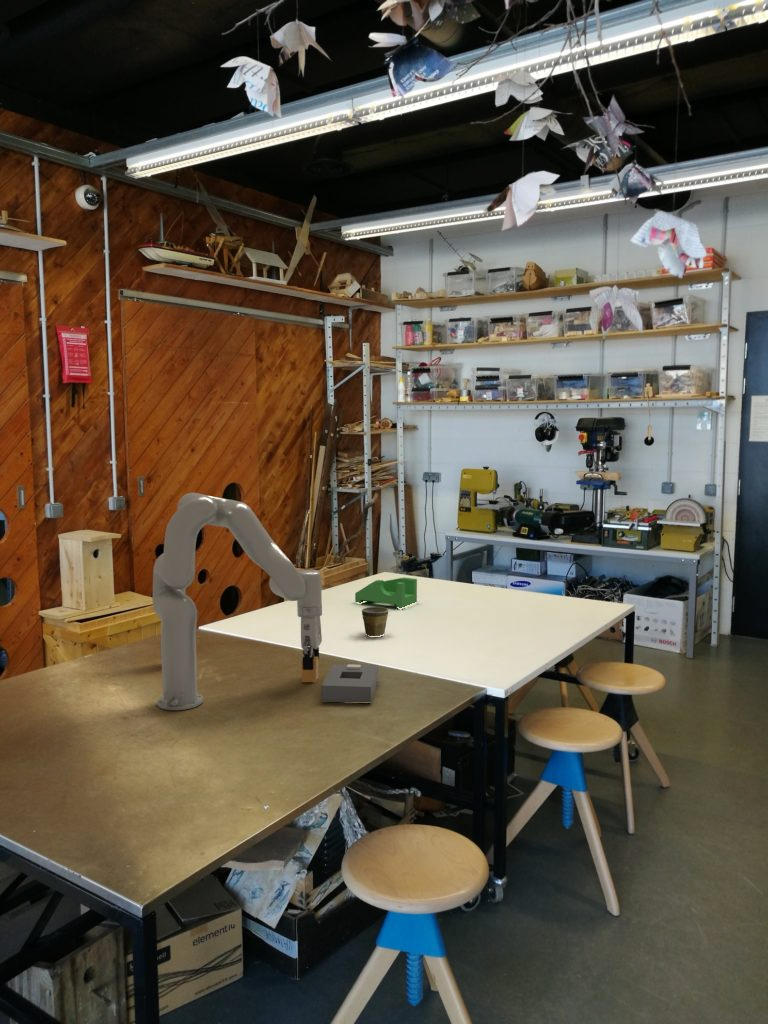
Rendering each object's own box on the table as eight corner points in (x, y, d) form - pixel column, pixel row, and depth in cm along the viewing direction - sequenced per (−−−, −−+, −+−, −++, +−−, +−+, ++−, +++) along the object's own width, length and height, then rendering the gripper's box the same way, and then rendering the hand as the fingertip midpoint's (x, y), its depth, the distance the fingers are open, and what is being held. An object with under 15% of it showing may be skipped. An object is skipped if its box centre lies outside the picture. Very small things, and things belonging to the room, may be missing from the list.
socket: (370, 704, 216) (370, 684, 216) (322, 702, 218) (321, 682, 217) (377, 681, 236) (377, 662, 236) (333, 679, 238) (332, 661, 237)
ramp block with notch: (416, 605, 341) (416, 578, 340) (401, 611, 329) (401, 583, 328) (371, 599, 353) (371, 573, 352) (355, 604, 342) (355, 578, 341)
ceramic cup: (392, 637, 286) (392, 611, 285) (367, 640, 283) (367, 613, 281) (379, 629, 298) (379, 604, 297) (355, 631, 295) (355, 606, 293)
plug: (315, 683, 235) (315, 654, 234) (301, 682, 235) (301, 654, 234) (318, 678, 239) (318, 650, 238) (304, 678, 240) (304, 649, 239)
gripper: (316, 617, 226) (318, 673, 228) (326, 603, 243) (327, 656, 245) (291, 617, 227) (293, 673, 229) (303, 603, 244) (304, 656, 246)
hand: (311, 664), depth 237 cm, fingers open, 9 cm apart
